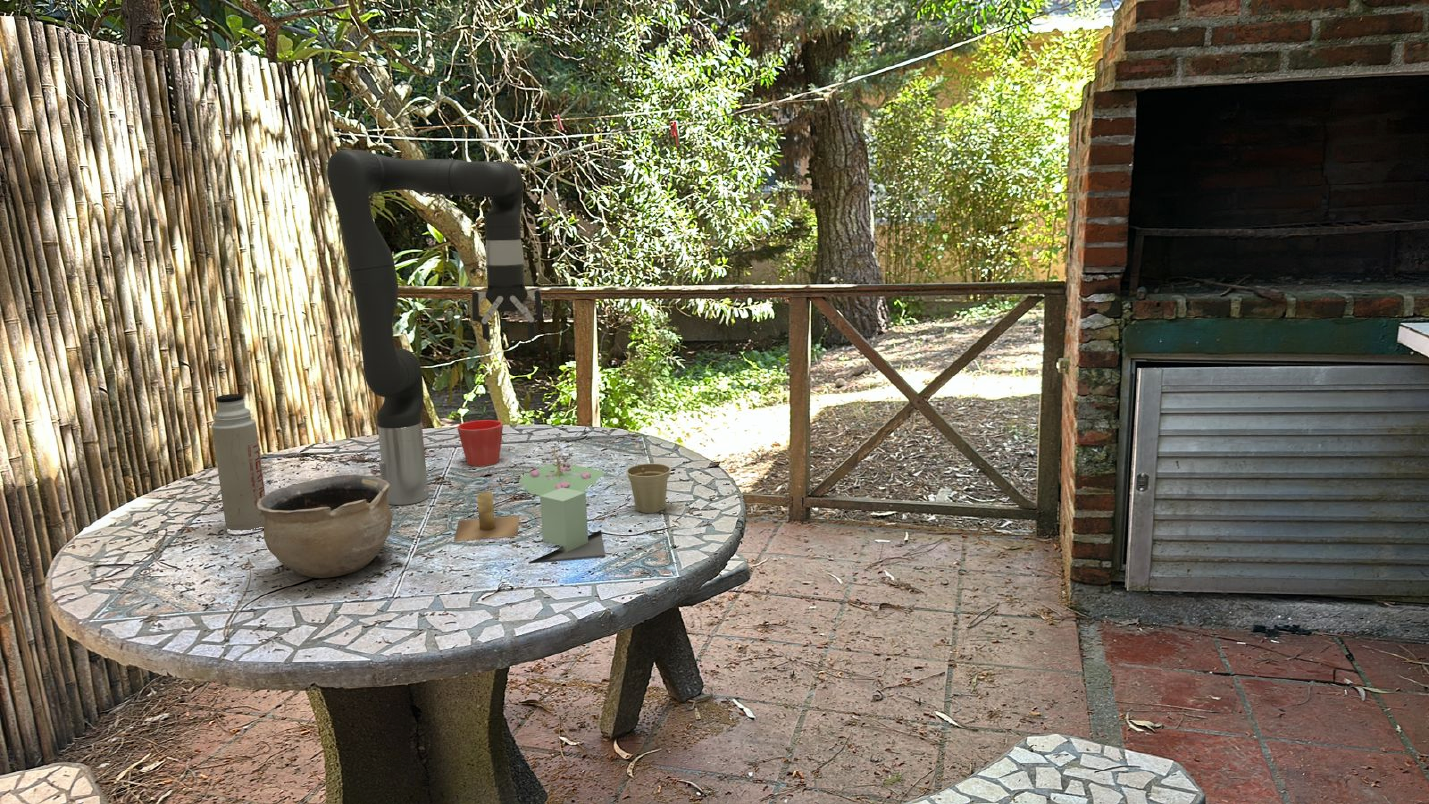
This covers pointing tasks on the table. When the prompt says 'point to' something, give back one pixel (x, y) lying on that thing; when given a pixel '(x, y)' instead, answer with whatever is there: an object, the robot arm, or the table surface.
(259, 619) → the table surface
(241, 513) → the thermos bottle
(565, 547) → the sage green tall block
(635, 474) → the flower pot
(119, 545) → the table surface
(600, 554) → the mat
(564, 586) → the table surface
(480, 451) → the flower pot
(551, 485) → the plant
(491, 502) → the peg stand
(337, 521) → the ceramic bowl
